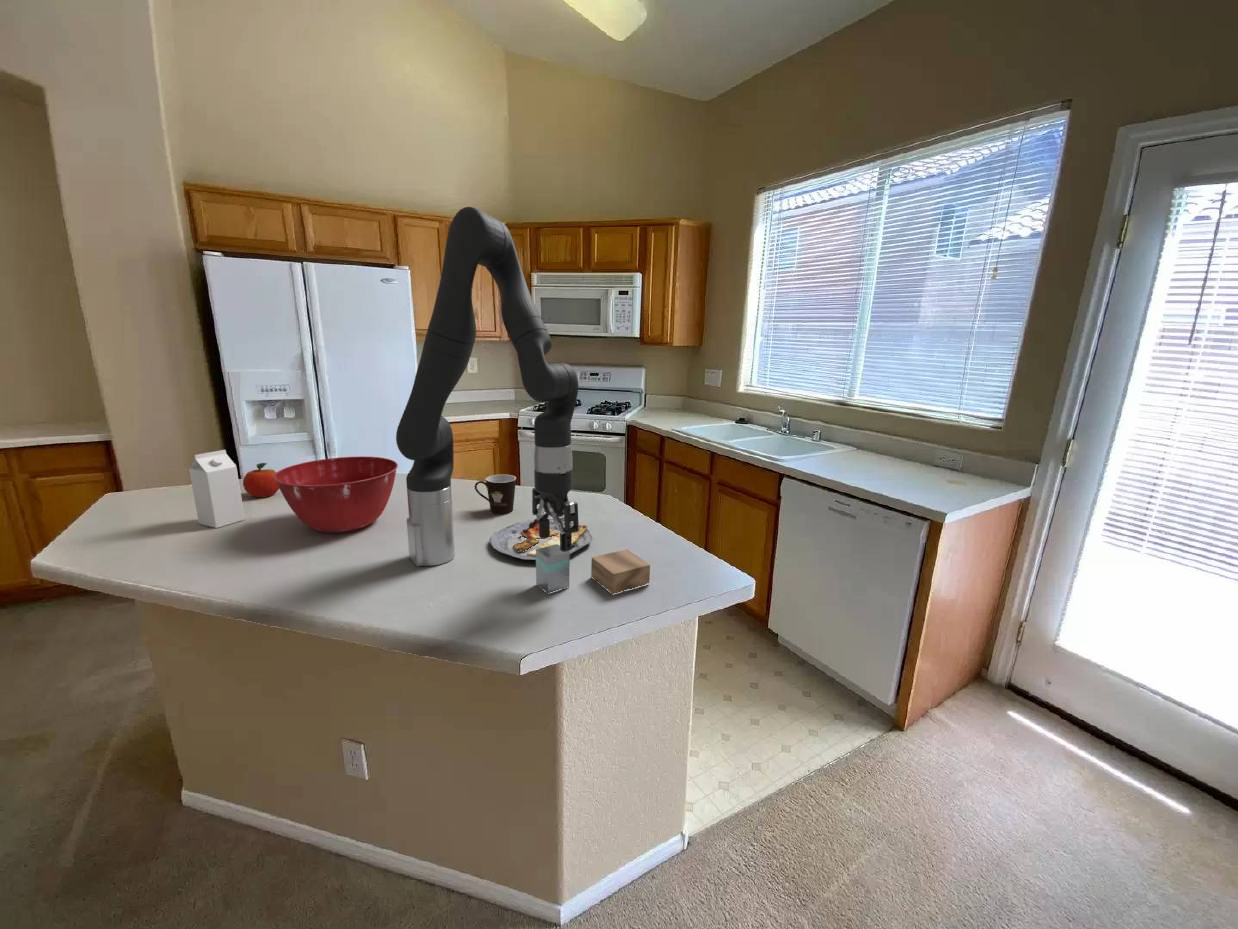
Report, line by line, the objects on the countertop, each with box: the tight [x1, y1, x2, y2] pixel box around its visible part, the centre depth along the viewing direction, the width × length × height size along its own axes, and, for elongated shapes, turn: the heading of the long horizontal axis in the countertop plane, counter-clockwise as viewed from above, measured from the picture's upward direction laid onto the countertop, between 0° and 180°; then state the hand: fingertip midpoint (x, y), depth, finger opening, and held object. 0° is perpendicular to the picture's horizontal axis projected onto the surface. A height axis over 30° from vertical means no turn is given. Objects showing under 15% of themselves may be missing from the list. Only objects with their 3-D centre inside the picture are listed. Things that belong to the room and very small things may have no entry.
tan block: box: [590, 548, 651, 595], centre depth 107 cm, size 9×9×5 cm
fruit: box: [242, 462, 280, 498], centre depth 154 cm, size 10×10×10 cm
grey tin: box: [535, 544, 571, 594], centre depth 104 cm, size 5×5×8 cm
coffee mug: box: [474, 474, 517, 516], centre depth 148 cm, size 12×9×10 cm
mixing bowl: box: [273, 456, 399, 534], centre depth 133 cm, size 28×28×15 cm
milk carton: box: [188, 449, 246, 529], centre depth 131 cm, size 7×7×19 cm
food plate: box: [489, 518, 593, 561], centre depth 126 cm, size 25×23×4 cm
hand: (554, 543), depth 103 cm, fingers open, 8 cm apart
